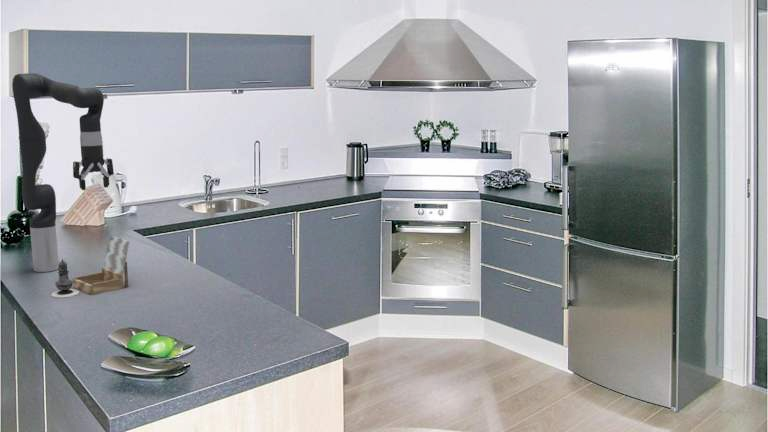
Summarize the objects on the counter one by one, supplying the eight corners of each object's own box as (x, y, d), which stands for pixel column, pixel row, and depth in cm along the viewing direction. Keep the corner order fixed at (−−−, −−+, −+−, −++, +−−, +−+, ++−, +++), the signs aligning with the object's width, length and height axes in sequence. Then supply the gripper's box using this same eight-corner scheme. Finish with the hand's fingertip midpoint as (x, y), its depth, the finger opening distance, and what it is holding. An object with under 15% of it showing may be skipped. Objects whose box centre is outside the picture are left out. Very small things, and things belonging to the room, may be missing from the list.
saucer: (47, 294, 286) (47, 292, 286) (72, 289, 292) (72, 287, 292) (58, 299, 280) (58, 297, 280) (83, 294, 286) (83, 292, 286)
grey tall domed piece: (55, 295, 282) (52, 261, 280) (56, 291, 288) (54, 257, 286) (73, 294, 284) (70, 260, 282) (74, 289, 289) (72, 256, 287)
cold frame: (73, 287, 295) (69, 241, 292) (113, 279, 306) (110, 235, 303) (91, 294, 285) (87, 247, 282) (132, 286, 296) (129, 240, 293)
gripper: (105, 142, 304) (108, 185, 307) (67, 144, 294) (71, 189, 297) (115, 143, 299) (118, 187, 302) (76, 146, 289) (80, 191, 292)
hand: (94, 188), depth 299 cm, fingers open, 8 cm apart
